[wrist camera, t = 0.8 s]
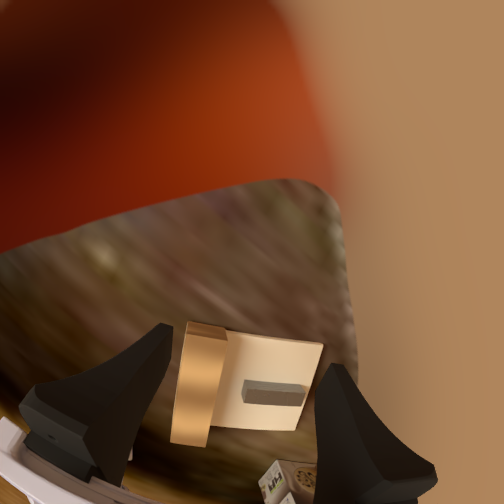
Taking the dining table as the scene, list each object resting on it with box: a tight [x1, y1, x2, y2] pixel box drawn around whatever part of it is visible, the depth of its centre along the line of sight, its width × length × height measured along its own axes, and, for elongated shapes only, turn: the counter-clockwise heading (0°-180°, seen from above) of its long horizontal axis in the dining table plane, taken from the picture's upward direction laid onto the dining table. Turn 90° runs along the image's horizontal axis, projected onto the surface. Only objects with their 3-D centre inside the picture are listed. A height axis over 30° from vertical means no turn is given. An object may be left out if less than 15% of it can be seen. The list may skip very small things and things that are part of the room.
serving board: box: [174, 330, 323, 430], centre depth 32 cm, size 13×16×1 cm
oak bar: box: [170, 321, 228, 447], centre depth 29 cm, size 14×4×4 cm, turn 167°
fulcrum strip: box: [241, 379, 306, 407], centre depth 31 cm, size 2×7×2 cm, turn 78°
